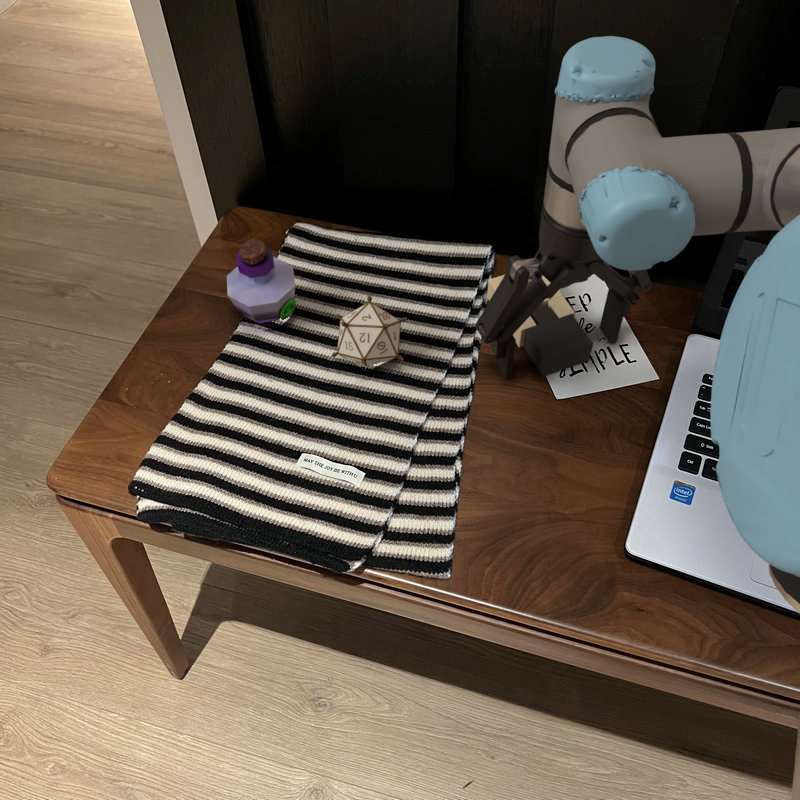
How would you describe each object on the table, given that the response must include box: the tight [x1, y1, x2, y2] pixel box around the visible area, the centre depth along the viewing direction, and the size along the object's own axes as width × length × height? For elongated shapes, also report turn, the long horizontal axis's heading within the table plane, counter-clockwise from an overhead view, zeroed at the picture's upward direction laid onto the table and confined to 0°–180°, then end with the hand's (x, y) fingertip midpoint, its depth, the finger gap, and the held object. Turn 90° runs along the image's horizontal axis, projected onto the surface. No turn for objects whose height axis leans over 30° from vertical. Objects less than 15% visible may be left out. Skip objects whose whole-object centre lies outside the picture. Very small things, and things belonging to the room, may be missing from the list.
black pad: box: [523, 305, 594, 377], centre depth 91 cm, size 8×6×4 cm
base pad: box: [486, 274, 576, 348], centre depth 94 cm, size 9×7×4 cm
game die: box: [330, 293, 408, 370], centre depth 90 cm, size 9×8×10 cm
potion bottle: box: [226, 238, 297, 323], centre depth 93 cm, size 9×9×12 cm
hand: (556, 352), depth 91 cm, fingers open, 13 cm apart
